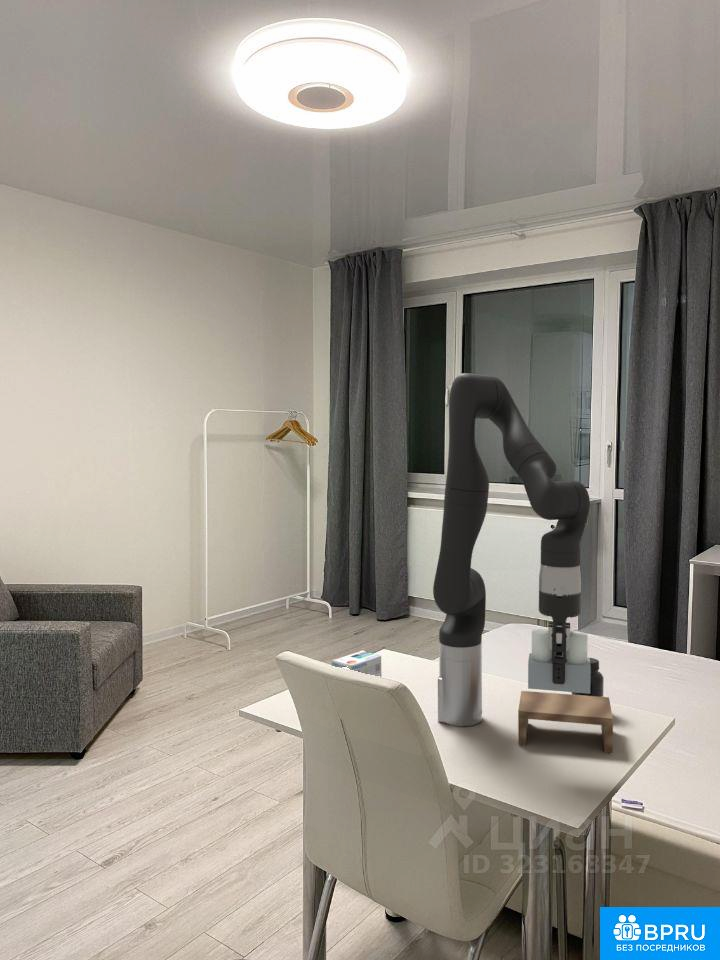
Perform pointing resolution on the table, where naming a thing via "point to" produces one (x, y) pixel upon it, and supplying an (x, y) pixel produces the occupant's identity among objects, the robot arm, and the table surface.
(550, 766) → the table surface
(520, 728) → the walnut shelf
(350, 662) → the light bulb box
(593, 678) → the supplement bottle
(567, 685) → the salt and pepper set
